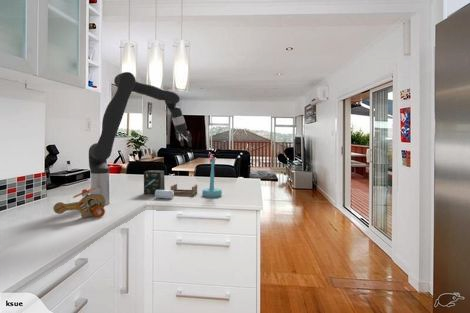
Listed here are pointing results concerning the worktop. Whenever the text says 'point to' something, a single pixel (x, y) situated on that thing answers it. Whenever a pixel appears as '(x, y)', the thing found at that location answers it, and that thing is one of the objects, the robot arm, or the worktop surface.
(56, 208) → the toy helicopter
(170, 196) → the paper roll
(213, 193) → the blue towel holder stand
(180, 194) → the roll cradle
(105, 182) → the robot arm
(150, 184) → the tampon box
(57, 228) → the worktop surface
